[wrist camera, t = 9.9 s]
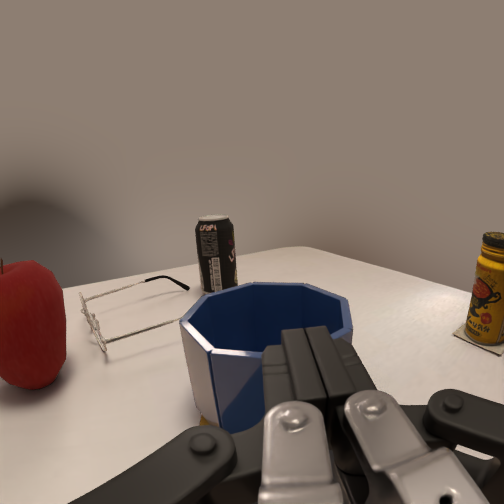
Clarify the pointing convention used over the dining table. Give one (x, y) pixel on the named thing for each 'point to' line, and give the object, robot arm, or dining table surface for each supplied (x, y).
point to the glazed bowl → (249, 343)
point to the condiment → (487, 297)
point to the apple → (31, 325)
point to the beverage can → (216, 253)
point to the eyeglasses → (92, 321)
